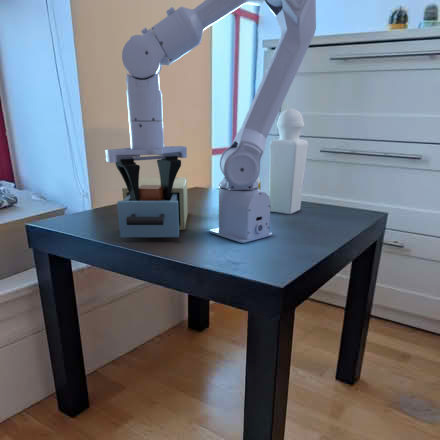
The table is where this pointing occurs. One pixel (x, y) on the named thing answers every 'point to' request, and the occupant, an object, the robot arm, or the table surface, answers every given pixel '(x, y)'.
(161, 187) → the block
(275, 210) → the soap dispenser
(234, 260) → the table surface
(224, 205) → the robot arm
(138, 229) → the drawer
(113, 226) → the table surface
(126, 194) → the drawer cabinet
